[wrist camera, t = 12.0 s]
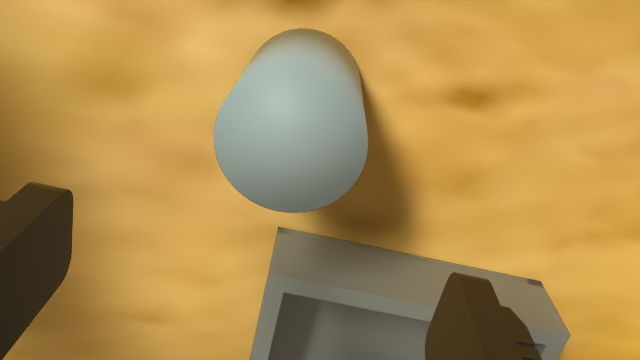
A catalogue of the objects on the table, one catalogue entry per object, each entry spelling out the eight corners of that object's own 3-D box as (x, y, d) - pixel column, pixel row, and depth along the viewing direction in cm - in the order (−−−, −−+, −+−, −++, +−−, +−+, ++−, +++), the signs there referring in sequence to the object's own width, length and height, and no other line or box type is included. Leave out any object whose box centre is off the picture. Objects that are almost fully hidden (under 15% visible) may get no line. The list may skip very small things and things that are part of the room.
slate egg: (257, 16, 23) (225, 51, 17) (373, 43, 23) (386, 88, 17) (239, 127, 25) (204, 195, 19) (346, 150, 25) (347, 226, 19)
